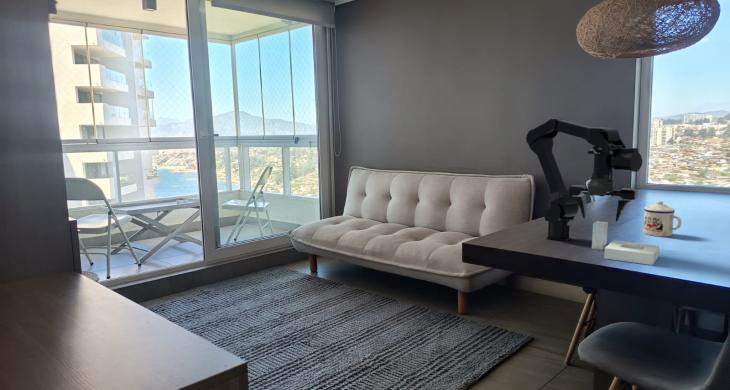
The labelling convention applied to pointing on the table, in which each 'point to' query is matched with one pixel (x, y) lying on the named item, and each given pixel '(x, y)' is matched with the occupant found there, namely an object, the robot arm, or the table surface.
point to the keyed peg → (599, 235)
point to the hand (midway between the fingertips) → (600, 219)
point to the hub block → (632, 252)
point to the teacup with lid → (660, 220)
